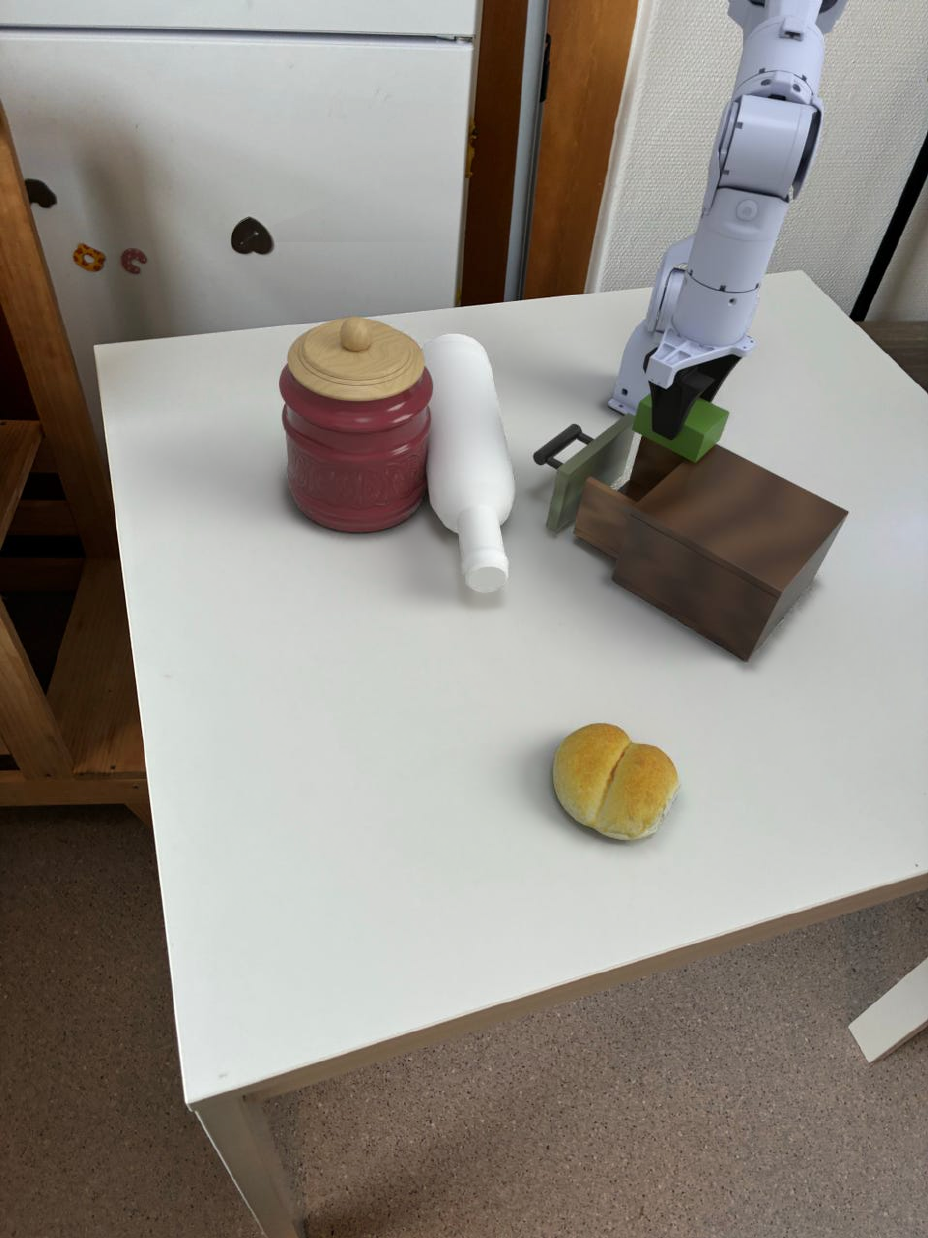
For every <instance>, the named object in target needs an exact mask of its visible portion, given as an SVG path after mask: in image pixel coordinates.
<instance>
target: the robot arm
mask: <svg viewBox="0 0 928 1238" xmlns="http://www.w3.org/2000/svg"><path fill="white" fill-rule="evenodd" d="M848 1H849V0H727V2H728V3H729V4H728V8H727V13H726V15H727V16H728V17H729V18H730V19H731V20H732V21H733V22H734V23H736V24H737V25H738V26H739V27H740V28H741V29H742V51H741V56H740V60H739V64H738V68H737V73H736V76H735V81H734V84H733V85H734V86H733V89H732V94H731V99H728V100H727V102H726V104H725V106H724V107H723V110H722V114H721V117H720V120H719V123H718V124H719V125H718V128H717V131H716V135H715V140H714V143H713V147H712V150H711V155H710V159H709V163H708V167H707V179H706V188H705V192H704V196H703V200H702V206H701V213H700V218H699V221H698V225H697V228H696V231H695V232H694V233H692V234H690V235H688V236H686V237H684V238H682V239H680V240H678V241H676V242H674V243H672V244H670V245H669V246H668V247H667V249H666V251H664V252H663V253H662V257H661V260H660V261H661V262H660V265H659V268H657V272H656V275H655V279H654V283H653V287H652V291H651V295H650V299H649V304H648V308H647V311H646V316H645V318H644V319H642V321H640V323H639V324H638V325H637V326H636V327H634V330H633V331H632V332H631V335H630V336H629V338H628V340H627V342H626V343H625V344H626V345H625V347H624V350H623V353H622V357H621V361H620V365H619V369H618V374H617V377H616V381H615V386H614V391H613V394H612V398H611V399H609V400H608V402H607V405H608V407H610V408H611V409H614V410H615V411H617V412H619V413H621V414H623V415H626V414H627V413H631V414H632V415H634V416H635V415H636V412H637V408H638V404H639V402H640V401H641V400H642V399H643V398H645V397H646V396H647V395H648V394H650V393H651V403H652V431H653V432H655V433H657V434H659V435H661V436H663V437H665V438H667V439H669V440H673V439H674V438H675V437H676V436H677V435H678V433H679V432H680V430H681V429H682V427H683V425H684V423H685V421H686V419H687V417H688V415H689V413H690V411H691V409H692V407H693V405H694V404H695V402H696V400H697V399H698V398H699V397H700V398H702V399H704V400H706V401H708V402H710V403H712V402H713V400H714V399H715V397H716V395H717V394H718V392H719V390H720V389H721V387H722V386H723V384H724V382H725V381H726V379H727V378H728V377H729V375H730V373H731V372H732V371H733V369H734V368H735V367H736V366H737V365H738V364H739V362H740V361H742V359H743V358H746V357H748V356H750V354H751V353H753V352H754V351H755V348H756V345H757V341H756V340H755V339H753V338H752V337H751V336H749V332H750V329H751V326H752V322H753V319H754V317H755V315H756V311H757V308H758V306H759V303H760V301H761V299H760V298H759V296H760V295H759V294H760V288H761V286H762V282H763V281H764V277H765V275H766V272H767V269H768V266H769V263H770V260H771V258H772V254H773V251H774V248H775V247H776V243H777V239H778V237H779V234H780V231H781V229H782V225H783V223H784V220H785V217H786V214H787V211H788V208H789V205H790V202H791V197H790V193H789V192H790V190H791V187H792V189H793V190H792V200H793V201H796V200H797V198H798V197H799V195H800V193H801V192H802V190H803V188H804V186H805V185H806V182H807V180H808V177H809V176H810V172H811V170H812V167H813V164H814V161H815V158H816V155H817V153H818V148H819V145H820V140H821V136H822V131H823V124H824V113H825V105H824V104H823V98H822V97H819V96H818V95H819V89H820V84H821V79H822V73H823V67H824V63H825V56H826V41H825V37H824V35H826V34H829V33H831V32H832V31H833V29H834V26H835V24H836V22H837V21H838V20H840V19H841V18H842V15H843V13H844V11H845V9H846V7H847V4H848ZM679 265H686V267H685V268H680V267H678V266H679Z"/></svg>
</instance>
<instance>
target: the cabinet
mask: <svg viewBox="0 0 928 1238" xmlns="http://www.w3.org/2000/svg"><path fill="white" fill-rule="evenodd" d="M849 514H850V511H849V510H847V509H846V508H845V509H844V508H843V507H841V506H839V505H837V504H835V503H833V502H831V501H829V500H827V499H825V498H823V497H821V496H820V495H817V494H815V493H814V492H812V491H810V490H808V489H806V488H804V487H802V486H800V485H798V484H796V483H794V482H792V481H790V480H788V479H787V478H784V477H782V476H780V475H778V474H777V473H774V472H772V471H771V470H769V469H767V468H765V467H763V466H761V465H759V464H757V463H755V462H753V461H752V460H749V459H747V458H745V457H743V456H742V455H739V454H737V453H735V452H733V451H731V450H730V449H727V448H726V447H724V446H722V445H720V444H719V443H716V444H715V445H714V446H713V447H712V448H711V449H709V450H708V451H707V452H706V453H705V454H704V455H703V456H702V457H701V458H700V459H699V460H698V461H697V462H696V463H694V462H692V461H691V460H689V459H685V460H684V461H683V462H682V463H681V464H680V465H679V466H678V467H677V468H676V469H674V470H673V471H672V472H671V473H670V474H669V475H668V476H667V477H666V478H664V479H663V480H662V481H661V482H660V483H659V484H658V485H657V486H656V487H654V488H653V489H652V490H651V491H650V492H649V493H648V494H647V495H646V496H645V497H643V498H642V499H641V500H640V501H639V502H638V503H637V504H636V505H635V506H633V507H632V511H631V514H630V517H629V521H628V524H627V528H626V531H625V534H624V538H623V541H622V545H621V548H620V552H619V555H618V558H617V559H616V562H615V565H614V569H613V573H612V576H611V581H612V582H615V583H616V584H618V585H619V586H621V587H623V588H625V590H627V591H629V592H630V593H633V594H634V595H636V596H638V597H640V598H641V599H643V600H644V601H646V602H647V603H649V604H651V605H653V606H655V607H656V608H658V609H659V610H661V611H662V612H664V613H666V614H667V615H669V616H671V617H673V618H674V619H675V620H677V621H679V622H680V623H682V624H684V625H685V626H687V627H689V628H690V629H692V630H694V631H696V632H697V633H699V634H700V635H702V636H704V637H705V638H707V639H708V640H710V641H712V642H713V643H715V644H716V645H718V646H720V647H721V648H723V649H725V650H726V651H729V652H730V653H731V654H733V655H735V656H737V657H738V658H740V659H742V660H743V661H745V662H749V661H750V659H751V658H752V657H753V656H754V655H755V653H756V652H757V651H758V649H759V648H760V647H761V646H762V644H763V643H764V642H765V641H766V640H767V638H768V637H769V636H770V634H771V633H772V632H773V631H774V630H775V628H777V626H778V625H779V623H780V622H781V621H782V620H783V618H785V616H786V615H787V613H788V612H789V611H790V610H791V608H792V607H794V605H795V604H796V603H797V601H798V600H799V599H800V597H801V596H802V595H803V594H804V593H805V592H806V590H807V589H808V588H809V586H810V585H811V584H812V582H813V581H814V579H815V577H816V576H817V573H818V572H819V570H820V568H821V566H822V564H823V562H824V560H825V559H826V557H827V555H828V552H829V551H830V550H831V547H832V545H833V543H834V541H835V540H836V538H837V536H838V534H839V532H840V530H841V528H842V527H843V525H844V523H845V521H846V519H847V517H848V515H849Z"/></svg>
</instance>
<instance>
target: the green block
mask: <svg viewBox="0 0 928 1238" xmlns="http://www.w3.org/2000/svg"><path fill="white" fill-rule="evenodd" d="M730 413H731V412H730V411H729V410H726V409H724V408H723V407H720V406H718V405H716V404H714V403H712V402H711V403H710V402H708V401H706V400H704V399H702V398H700V397H699V398H698V399H697V400H696V402H695V404H694V405H693V407H692V409H691V411H690V413H689V415H688V417H687V419H686V421H685V423H684V425H683V427H682V429H681V430H680V432H679V433H678V435H677V436H676V437H675V438H674V439H673V440H669V439H667V438H665V437H663V436H661V435H659V434H657V433H655V432H653V431H652V403H651V393H650V394H648V395H647V396H646V397H645V398H643V399H642V400H641V401H640V402H639V404H638V408H637V412H636V415H635V419H634V423H633V427H632V430H633V431H635V433H637V434H639V435H640V436H642V435H643V436H644V437H646V438H648V439H650V440H652V441H654V442H656V443H658V444H660V445H662V446H664V447H666V448H667V449H669V450H671V451H673V452H675V453H677V454H679V455H681V456H683V457H685V458H687V459H689V460H691V461H692V462H694V463H696V462H697V461H698V460H699V459H700V458H701V457H702V456H703V455H704V454H705V453H706V452H707V451H708V450H709V449H711V448H712V447H713V446H714V445H715V444H718V442H719V441H720V440H721V438H722V435H723V433H724V430H725V427H726V425H727V422H728V419H729V416H730Z"/></svg>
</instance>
